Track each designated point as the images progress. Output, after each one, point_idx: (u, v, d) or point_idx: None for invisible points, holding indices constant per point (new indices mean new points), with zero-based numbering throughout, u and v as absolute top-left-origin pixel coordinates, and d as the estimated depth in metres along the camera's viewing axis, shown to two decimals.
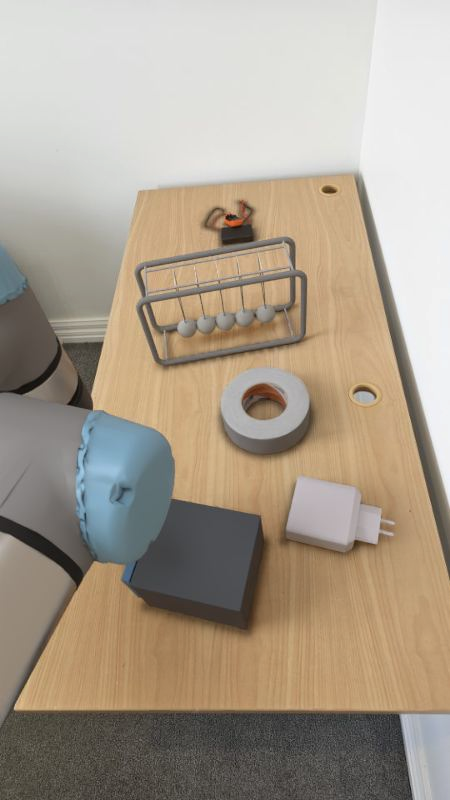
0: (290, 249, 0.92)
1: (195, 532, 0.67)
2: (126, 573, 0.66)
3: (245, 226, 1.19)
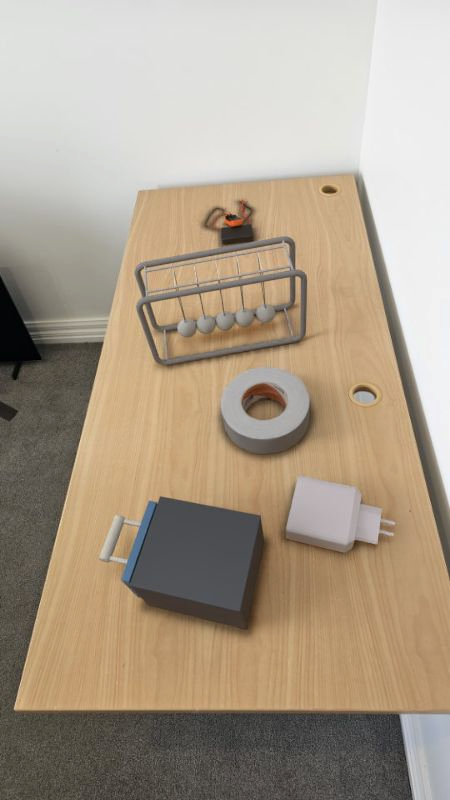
0: (290, 249, 0.92)
1: (195, 532, 0.67)
2: (126, 573, 0.66)
3: (245, 226, 1.19)
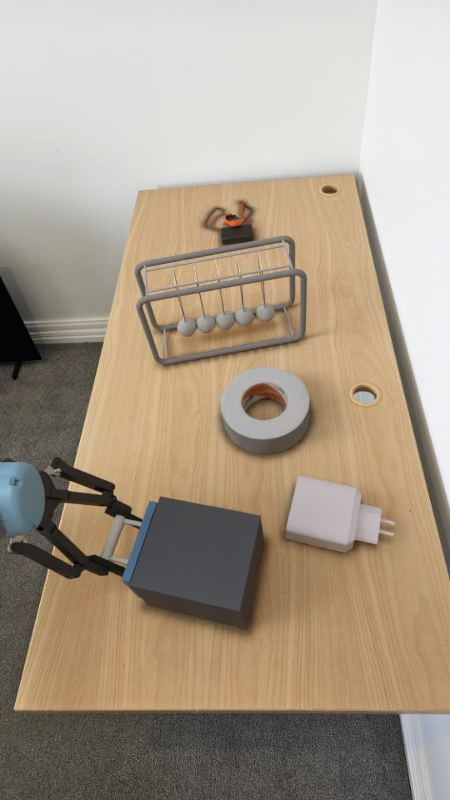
0: (290, 248, 0.92)
1: (195, 532, 0.67)
2: (127, 573, 0.66)
3: (245, 226, 1.19)
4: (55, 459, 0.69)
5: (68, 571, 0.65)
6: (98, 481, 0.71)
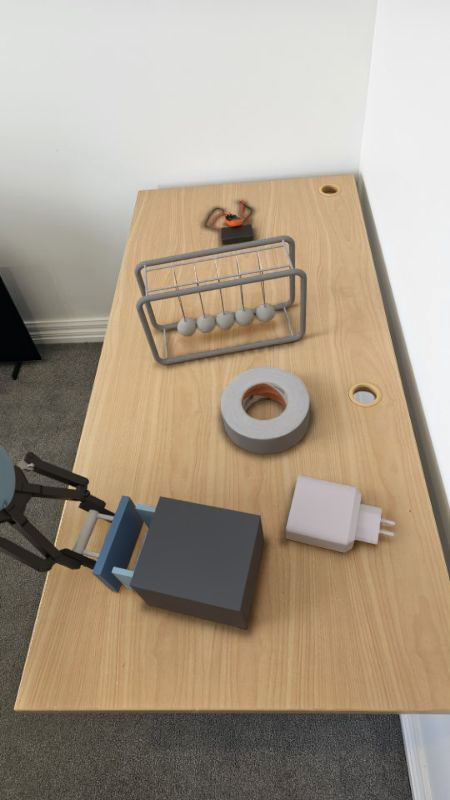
0: (290, 248, 0.92)
1: (195, 532, 0.67)
2: (97, 566, 0.67)
3: (245, 226, 1.19)
4: (28, 454, 0.70)
5: (39, 564, 0.66)
6: (72, 476, 0.72)
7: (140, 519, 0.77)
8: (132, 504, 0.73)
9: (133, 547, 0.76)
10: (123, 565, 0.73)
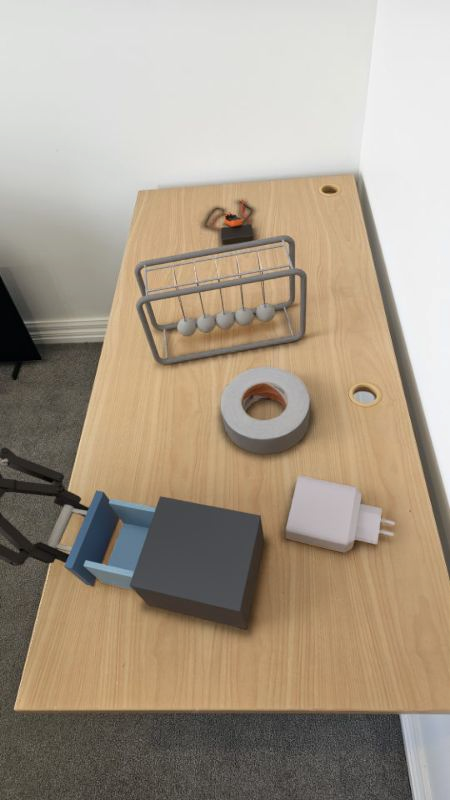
0: (290, 248, 0.92)
1: (195, 532, 0.67)
2: (70, 560, 0.68)
3: (245, 226, 1.19)
4: (2, 449, 0.71)
5: (12, 558, 0.67)
6: (46, 471, 0.73)
7: (116, 514, 0.78)
8: (106, 499, 0.74)
9: (108, 542, 0.77)
10: (97, 559, 0.74)
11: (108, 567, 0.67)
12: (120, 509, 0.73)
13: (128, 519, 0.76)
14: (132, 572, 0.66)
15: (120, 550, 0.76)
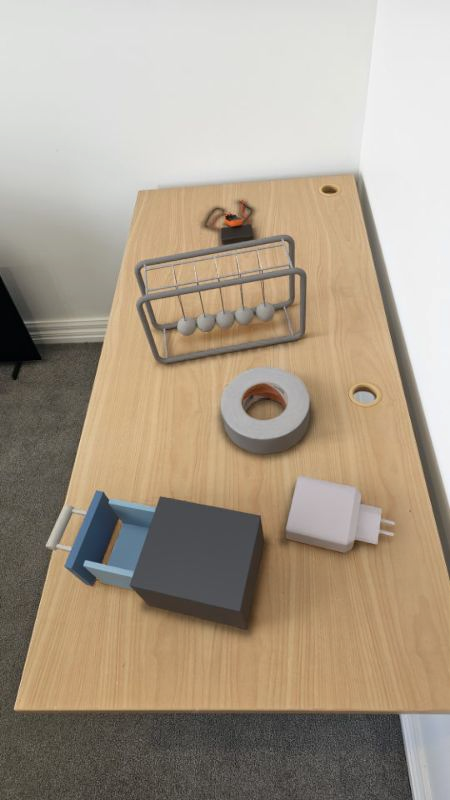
0: (289, 247, 0.92)
1: (195, 532, 0.67)
2: (69, 560, 0.68)
3: (245, 226, 1.19)
4: None
5: None
6: None
7: (115, 514, 0.78)
8: (106, 499, 0.74)
9: (108, 542, 0.77)
10: (97, 559, 0.74)
11: (108, 567, 0.67)
12: (120, 509, 0.73)
13: (128, 519, 0.76)
14: (132, 572, 0.66)
15: (120, 550, 0.76)
